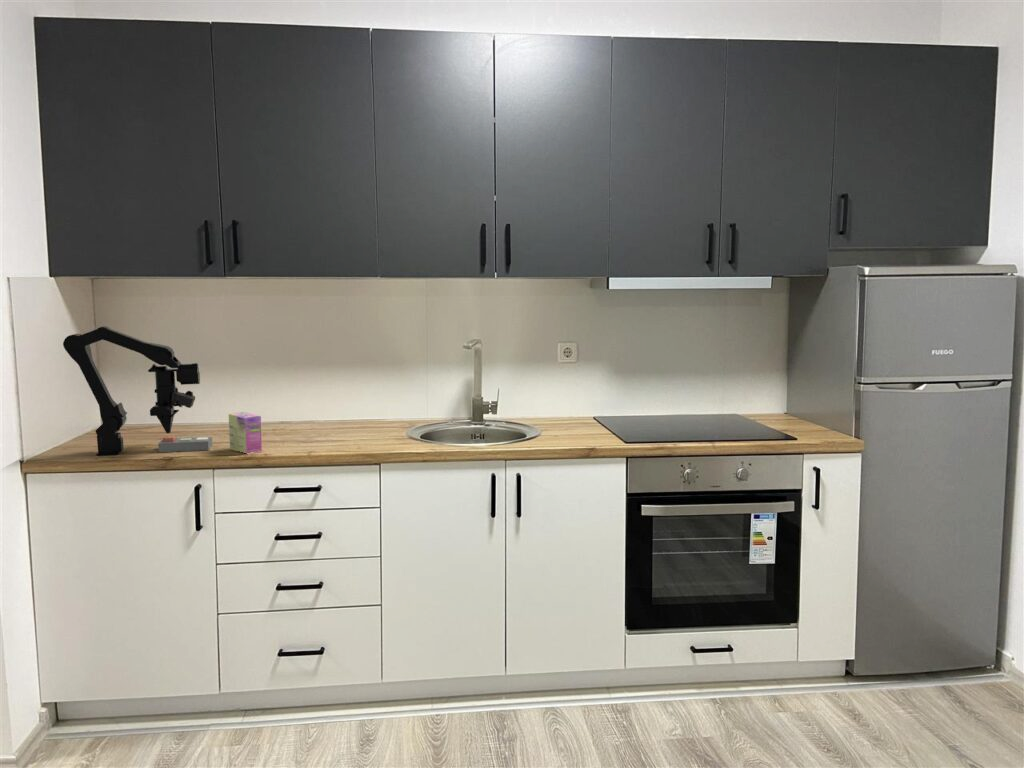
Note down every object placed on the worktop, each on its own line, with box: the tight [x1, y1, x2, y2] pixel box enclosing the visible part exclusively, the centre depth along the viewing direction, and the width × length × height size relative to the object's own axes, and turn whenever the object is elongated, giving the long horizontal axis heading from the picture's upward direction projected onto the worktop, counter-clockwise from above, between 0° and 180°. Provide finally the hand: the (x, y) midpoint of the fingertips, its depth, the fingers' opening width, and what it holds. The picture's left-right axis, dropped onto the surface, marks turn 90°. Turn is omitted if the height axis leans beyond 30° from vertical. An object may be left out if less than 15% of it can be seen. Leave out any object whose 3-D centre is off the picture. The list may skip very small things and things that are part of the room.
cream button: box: [196, 436, 209, 441], centre depth 256 cm, size 3×3×2 cm
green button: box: [179, 437, 192, 441], centre depth 255 cm, size 3×3×2 cm
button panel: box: [157, 436, 213, 453], centre depth 256 cm, size 15×8×3 cm, turn 101°
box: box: [228, 411, 263, 454], centre depth 252 cm, size 10×6×12 cm, turn 48°
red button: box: [162, 435, 177, 442], centre depth 254 cm, size 3×3×2 cm
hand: (168, 433), depth 254 cm, fingers closed
